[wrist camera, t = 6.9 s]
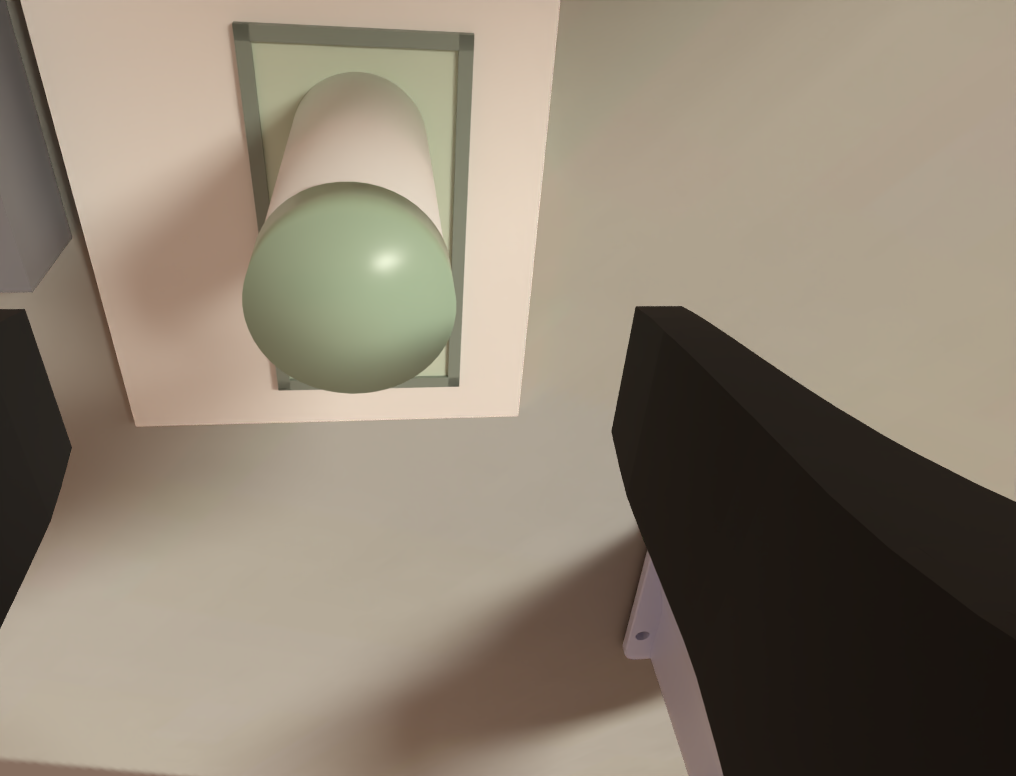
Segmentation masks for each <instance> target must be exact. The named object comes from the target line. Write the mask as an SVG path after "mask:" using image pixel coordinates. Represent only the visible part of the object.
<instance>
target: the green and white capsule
mask: <svg viewBox="0 0 1016 776" xmlns="http://www.w3.org/2000/svg"><path fill="white" fill-rule="evenodd" d="M242 307H243V313H244V318H245V321H246V324H247V327H248V330H249V332H250V334H251V336H252V338H253V340H254V342H255V343H256V345H257V346H258V348H259V349H260V350H261V352H262V353H263V354H264V355H265V356H266V357H267V358H268V360H269V361H270V362H272V363H273V364H274V365H275V366H276V367H277V368H279V369H280V370H281V371H283V372H284V373H286V374H287V375H289V376H290V377H292V378H294V379H296V380H298V381H300V382H302V383H304V384H307V385H309V386H312V387H314V388H318V389H322V390H325V391H331V392H337V393H348V394H358V393H370V392H377V391H381V390H385V389H389V388H392V387H395V386H397V385H400V384H402V383H404V382H406V381H408V380H410V379H412V378H414V377H415V376H417V375H418V374H420V373H421V372H423V371H424V370H425V369H426V368H427V367H428V366H429V365H431V364H432V363H433V361H434V360H435V359H436V358H437V357H438V356H439V355H440V353H441V352H442V350H443V349H444V347H445V346H446V344H447V342H448V340H449V338H450V336H451V333H452V330H453V327H454V323H455V317H456V295H455V288H454V282H453V276H452V270H451V264H450V258H449V254H448V250H447V247H446V244H445V242H444V240H443V235H442V229H441V222H440V216H439V209H438V203H437V197H436V190H435V184H434V178H433V171H432V165H431V159H430V152H429V146H428V139H427V133H426V128H425V124H424V120H423V118H422V116H421V113H420V111H419V110H418V108H417V106H416V104H415V103H414V102H413V100H412V99H411V98H410V97H409V96H408V95H407V94H406V93H405V92H404V91H403V90H402V89H401V88H400V87H398V86H397V85H396V84H394V83H393V82H391V81H389V80H387V79H385V78H383V77H380V76H378V75H374V74H371V73H365V72H345V73H340V74H336V75H333V76H330V77H328V78H326V79H324V80H322V81H321V82H319V83H317V84H316V85H315V86H314V87H313V88H311V89H310V90H309V91H308V93H307V94H306V95H305V96H304V97H303V99H302V100H301V102H300V104H299V106H298V108H297V110H296V113H295V116H294V119H293V123H292V126H291V130H290V134H289V137H288V141H287V144H286V148H285V151H284V155H283V159H282V162H281V166H280V169H279V173H278V176H277V180H276V184H275V187H274V191H273V194H272V198H271V201H270V205H269V209H268V212H267V216H266V219H265V223H264V224H263V226H262V228H261V230H260V232H259V234H258V236H257V239H256V242H255V245H254V248H253V252H252V255H251V259H250V262H249V266H248V269H247V273H246V276H245V279H244V284H243V291H242Z"/></svg>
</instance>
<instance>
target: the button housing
mask: <svg viewBox="0 0 1016 776" xmlns="http://www.w3.org/2000/svg"><path fill="white" fill-rule="evenodd" d="M71 239H72V236H71V232H70V229H69V225H68V221H67V218H66V214H65V211H64V207H63V204H62V200H61V197H60V193H59V189H58V186H57V182H56V179H55V175H54V172H53V168H52V165H51V161H50V157H49V154H48V150H47V147H46V143H45V140H44V136H43V133H42V129H41V126H40V122H39V118H38V115H37V111H36V108H35V104H34V101H33V97H32V94H31V90H30V86H29V83H28V79H27V76H26V72H25V69H24V65H23V62H22V58H21V54H20V51H19V47H18V44H17V40H16V37H15V33H14V30H13V26H12V23H11V19H10V15H9V12H8V8H7V5H6V1H5V0H0V292H33V291H34V290H35V288H36V287H37V285H38V284H39V283H40V281H41V280H42V279H43V277H44V276H45V274H46V273H47V272H48V270H49V269H50V268H51V266H52V265H53V263H54V262H55V261H56V259H57V258H58V257H59V255H60V254H61V252H62V251H63V250H64V248H65V247H66V246H67V244H68V243H69V241H70V240H71Z"/></svg>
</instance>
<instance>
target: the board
mask: <svg viewBox="0 0 1016 776" xmlns="http://www.w3.org/2000/svg"><path fill="white" fill-rule="evenodd" d="M20 1H21V5H22V9H23V12H24V16H25V20H26V23H27V27H28V31H29V34H30V38H31V42H32V45H33V49H34V53H35V57H36V60H37V64H38V68H39V71H40V75H41V79H42V82H43V86H44V90H45V93H46V97H47V101H48V104H49V108H50V112H51V116H52V119H53V123H54V127H55V130H56V134H57V138H58V141H59V145H60V149H61V152H62V156H63V160H64V163H65V167H66V171H67V175H68V178H69V182H70V186H71V189H72V193H73V197H74V200H75V204H76V208H77V211H78V215H79V219H80V222H81V226H82V230H83V234H84V237H85V241H86V245H87V248H88V252H89V256H90V259H91V263H92V267H93V270H94V274H95V278H96V281H97V285H98V289H99V293H100V296H101V300H102V304H103V307H104V311H105V315H106V318H107V322H108V326H109V329H110V333H111V337H112V340H113V344H114V348H115V352H116V355H117V359H118V363H119V366H120V370H121V374H122V377H123V381H124V385H125V388H126V392H127V396H128V399H129V403H130V407H131V410H132V414H133V418H134V422H135V425H136V427H142V426H178V425H214V424H250V423H286V422H323V421H359V420H395V419H431V418H467V417H504V416H518V412H519V403H520V393H521V383H522V373H523V363H524V353H525V344H526V334H527V324H528V314H529V304H530V295H531V285H532V275H533V265H534V255H535V246H536V236H537V226H538V216H539V206H540V196H541V187H542V177H543V167H544V157H545V147H546V138H547V128H548V118H549V108H550V98H551V89H552V79H553V69H554V59H555V49H556V39H557V30H558V20H559V10H560V0H20ZM345 72H365V73H371V74H374V75H378V76H380V77H383V78H385V79H387V80H389V81H391V82H393V83H394V84H396V85H397V86H398V87H400V88H401V89H402V90H403V91H404V92H405V93H406V94H407V95H408V96H409V97H410V98H411V99H412V100H413V102H414V103H415V104H416V106H417V108H418V110H419V111H420V113H421V116H422V118H423V120H424V124H425V128H426V133H427V139H428V146H429V152H430V159H431V165H432V171H433V178H434V184H435V190H436V197H437V203H438V209H439V216H440V222H441V229H442V235H443V240H444V242H445V244H446V247H447V250H448V254H449V258H450V264H451V270H452V276H453V282H454V288H455V295H456V317H455V323H454V327H453V330H452V333H451V336H450V338H449V340H448V342H447V344H446V346H445V347H444V349H443V350H442V352H441V353H440V355H439V356H438V357H437V358H436V359H435V360H434V361H433V363H432V364H431V365H429V366H428V367H427V368H426V369H425V370H424V371H423V372H421V373H420V374H418V375H417V376H415V377H414V378H412V379H410V380H408V381H406V382H404V383H402V384H400V385H397V386H395V387H392V388H389V389H385V390H381V391H377V392H370V393H358V394H348V393H337V392H331V391H325V390H322V389H318V388H314V387H312V386H309V385H307V384H304V383H302V382H300V381H298V380H296V379H294V378H292V377H290V376H289V375H287V374H286V373H284V372H283V371H281V370H280V369H279V368H277V367H276V366H275V365H274V364H273V363H272V362H270V361H269V360H268V358H267V357H266V356H265V355H264V354H263V353H262V352H261V350H260V349H259V348H258V346H257V345H256V343H255V342H254V340H253V338H252V336H251V334H250V332H249V330H248V327H247V324H246V321H245V318H244V313H243V307H242V291H243V284H244V279H245V276H246V273H247V269H248V266H249V262H250V259H251V255H252V252H253V248H254V245H255V242H256V239H257V236H258V234H259V232H260V230H261V228H262V226H263V224H264V223H265V219H266V216H267V212H268V209H269V205H270V201H271V198H272V194H273V191H274V187H275V184H276V180H277V176H278V173H279V169H280V166H281V162H282V159H283V155H284V151H285V148H286V144H287V141H288V137H289V134H290V130H291V126H292V123H293V119H294V116H295V113H296V110H297V108H298V106H299V104H300V102H301V100H302V99H303V97H304V96H305V95H306V94H307V93H308V91H309V90H310V89H311V88H313V87H314V86H315V85H316V84H317V83H319V82H321V81H322V80H324V79H326V78H328V77H330V76H333V75H336V74H340V73H345Z"/></svg>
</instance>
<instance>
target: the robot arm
mask: <svg viewBox="0 0 1016 776" xmlns="http://www.w3.org/2000/svg"><path fill="white" fill-rule="evenodd" d="M612 436H613V440H614V445H615V449H616V454H617V458H618V463H619V467H620V471H621V475H622V479H623V483H624V487H625V491H626V495H627V498H628V501H629V503H630V506H631V509H632V511H633V514H634V517H635V519H636V522H637V524H638V527H639V529H640V532H641V535H642V537H643V540H644V542H645V545H646V547H647V554H646V558H645V562H644V565H643V569H642V573H641V577H640V581H639V585H638V588H637V592H636V596H635V600H634V604H633V608H632V611H631V615H630V619H629V623H628V627H627V631H626V634H625V638H624V642H623V651H624V654H625V656H626V657H627V658H629V659H635V660H636V659H649V658H651V661H652V664H653V667H654V670H655V673H656V677H657V680H658V683H659V686H660V689H661V692H662V695H663V698H664V701H665V704H666V707H667V710H668V714H669V717H670V720H671V723H672V726H673V729H674V732H675V735H676V738H677V741H678V744H679V747H680V751H681V754H682V757H683V760H684V763H685V766H686V769H687V772H688V775H689V776H1016V502H1015V501H1013V500H1010V499H1008V498H1006V497H1004V496H1002V495H1000V494H997V493H995V492H993V491H991V490H989V489H987V488H984V487H982V486H980V485H978V484H976V483H974V482H972V481H970V480H968V479H966V478H964V477H962V476H960V475H958V474H956V473H954V472H952V471H950V470H948V469H946V468H944V467H942V466H940V465H938V464H936V463H934V462H932V461H930V460H928V459H926V458H924V457H923V456H921V455H919V454H917V453H915V452H913V451H911V450H909V449H907V448H905V447H904V446H902V445H900V444H898V443H896V442H895V441H893V440H891V439H889V438H887V437H886V436H884V435H882V434H880V433H879V432H877V431H875V430H874V429H872V428H870V427H869V426H867V425H865V424H864V423H862V422H860V421H859V420H857V419H855V418H854V417H852V416H850V415H849V414H847V413H845V412H844V411H842V410H840V409H839V408H837V407H835V406H834V405H832V404H831V403H829V402H827V401H826V400H824V399H823V398H821V397H820V396H818V395H816V394H815V393H813V392H812V391H810V390H809V389H807V388H806V387H804V386H803V385H801V384H799V383H798V382H796V381H795V380H793V379H792V378H790V377H789V376H787V375H786V374H784V373H783V372H781V371H780V370H778V369H777V368H776V367H774V366H773V365H771V364H770V363H768V362H767V361H765V360H764V359H762V358H761V357H759V356H758V355H756V354H755V353H754V352H752V351H751V350H749V349H748V348H746V347H745V346H743V345H742V344H740V343H739V342H738V341H736V340H735V339H733V338H732V337H730V336H729V335H727V334H726V333H724V332H723V331H721V330H720V329H718V328H717V327H715V326H714V325H712V324H711V323H709V322H708V321H706V320H705V319H703V318H701V317H700V316H698V315H696V314H695V313H693V312H691V311H689V310H688V309H686V308H684V307H682V306H637V307H636V308H635V313H634V318H633V323H632V329H631V334H630V339H629V344H628V349H627V354H626V359H625V365H624V370H623V375H622V380H621V385H620V390H619V396H618V401H617V406H616V411H615V416H614V421H613V426H612ZM71 449H72V447H71V444H70V441H69V438H68V435H67V432H66V429H65V426H64V423H63V420H62V417H61V414H60V411H59V408H58V405H57V402H56V400H55V397H54V394H53V391H52V388H51V385H50V382H49V379H48V376H47V373H46V370H45V367H44V364H43V361H42V358H41V355H40V352H39V349H38V346H37V343H36V341H35V338H34V335H33V332H32V329H31V326H30V323H29V320H28V317H27V314H26V311H25V309H0V628H1V626H2V624H3V622H4V619H5V617H6V615H7V613H8V611H9V609H10V607H11V605H12V603H13V601H14V599H15V596H16V594H17V592H18V590H19V588H20V586H21V584H22V582H23V580H24V578H25V575H26V573H27V571H28V569H29V567H30V565H31V562H32V560H33V558H34V556H35V554H36V552H37V550H38V547H39V545H40V543H41V541H42V539H43V537H44V534H45V532H46V530H47V528H48V525H49V523H50V521H51V518H52V514H53V511H54V508H55V505H56V502H57V499H58V495H59V492H60V489H61V486H62V482H63V478H64V474H65V471H66V467H67V463H68V460H69V456H70V452H71Z"/></svg>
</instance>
